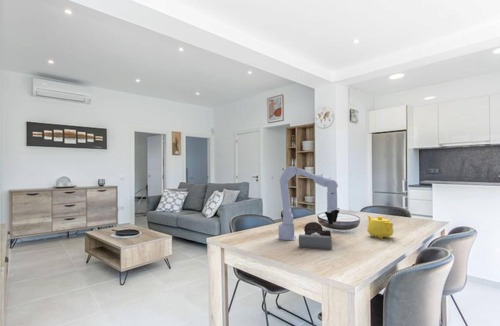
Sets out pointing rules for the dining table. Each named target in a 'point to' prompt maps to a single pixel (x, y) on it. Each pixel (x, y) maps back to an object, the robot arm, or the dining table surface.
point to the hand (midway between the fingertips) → (332, 223)
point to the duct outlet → (315, 241)
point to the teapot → (380, 227)
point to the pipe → (315, 229)
